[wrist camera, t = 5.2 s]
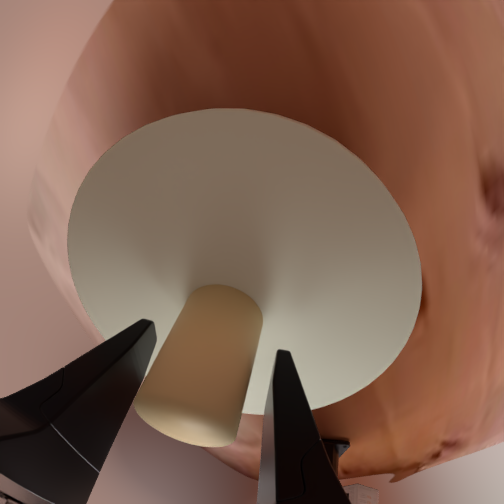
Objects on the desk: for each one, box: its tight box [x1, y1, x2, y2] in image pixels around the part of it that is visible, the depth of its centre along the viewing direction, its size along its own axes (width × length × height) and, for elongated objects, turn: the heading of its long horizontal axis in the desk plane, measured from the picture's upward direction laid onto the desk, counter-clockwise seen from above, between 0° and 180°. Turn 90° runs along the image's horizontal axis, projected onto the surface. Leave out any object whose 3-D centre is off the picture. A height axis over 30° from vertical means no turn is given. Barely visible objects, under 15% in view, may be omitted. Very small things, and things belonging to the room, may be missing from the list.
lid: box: [67, 108, 422, 447], centre depth 10 cm, size 14×14×7 cm
